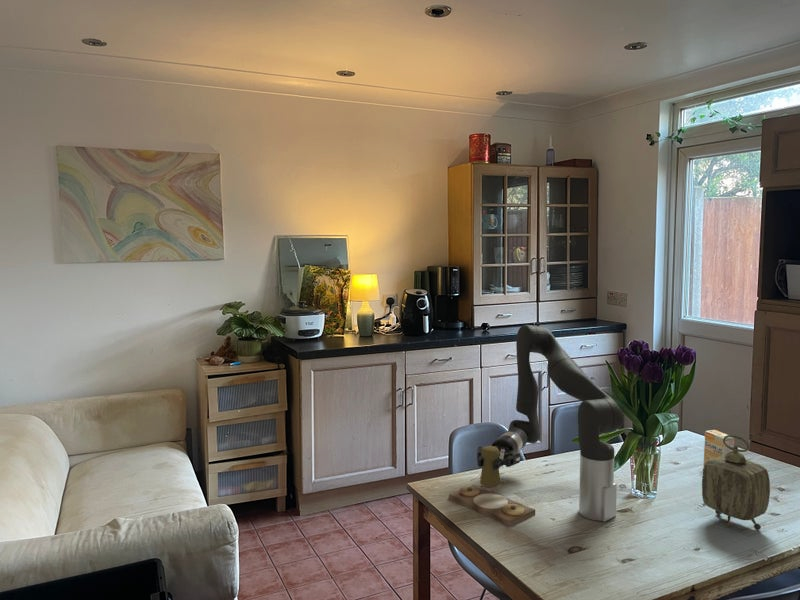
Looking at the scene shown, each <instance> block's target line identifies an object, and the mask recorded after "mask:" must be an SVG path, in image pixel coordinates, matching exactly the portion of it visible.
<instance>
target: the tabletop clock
mask: <svg viewBox="0 0 800 600" xmlns="http://www.w3.org/2000/svg"><path fill="white" fill-rule="evenodd" d="M728 437H733V438H734V439H737V440H740V441H742V442H744V443H745V445H746V448H744V449H739V447H738V445H735V444H734V448H733V447H730V446H729V445H727V444H726V443H725V439H726V438H728ZM723 442H724V444H725V446H726V447H728V448H729V449H731V450H733V451H730V452H728V453H727V454H726V455H723V456H719V457H716V458H713V459H710V460H707V461H706V463H705V465H704V464H703V466H704V467H703V471H702V480H701V494H702V495H701V496H702V501H703V504H704V505H706V506H707V507H708V508H710V509H712V510H714V511H715V512H714V513H715V514H716V515H717V516H721V515H722V514H723V515H725V516H727V520H725V521H724V526H725V527H726V528H730V527H731V526H732V522H731V518H734V519H738V520H741V521H751V522H752V524H754V525H753V529H755V530H756V531H759V530H761V527H762V526H761V525H760V524H759V523H757V522H756V520H755V519H756V518H758V517H760V516H761V515H765V514H766V512H767V510H768V507H769V503H770V495H771V484H770V483H771V482H770V476H769V472H768V469H767V468H765V466H763V465H761V464H760V463H758V462H755V461H752V460H749V459H746V457H745V456H744V454H743V453H746V452H748V451H749V450H750V444H749V442H748V441H747V440H746V439H744V438H743V437H742V436H739V435H736V434H727V436H725V437H724V439H723Z"/></svg>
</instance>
